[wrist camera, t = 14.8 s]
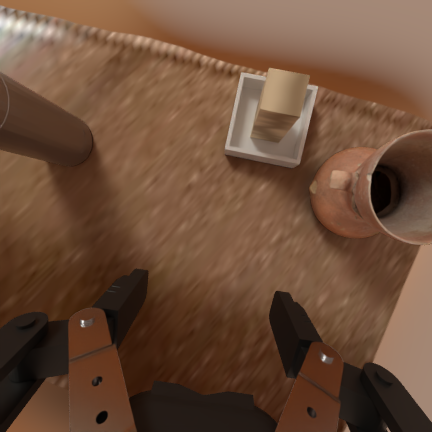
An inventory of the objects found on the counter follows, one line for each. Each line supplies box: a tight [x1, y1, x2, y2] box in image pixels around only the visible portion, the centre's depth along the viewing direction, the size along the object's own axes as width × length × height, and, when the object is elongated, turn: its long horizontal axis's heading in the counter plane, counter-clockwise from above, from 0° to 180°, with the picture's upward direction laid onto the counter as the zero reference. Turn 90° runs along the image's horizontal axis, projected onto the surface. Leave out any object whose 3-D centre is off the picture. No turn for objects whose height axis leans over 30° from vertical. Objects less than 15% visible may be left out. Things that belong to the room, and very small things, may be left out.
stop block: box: [250, 68, 310, 143], centre depth 29 cm, size 5×5×10 cm
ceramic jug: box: [309, 130, 432, 245], centre depth 28 cm, size 18×14×14 cm
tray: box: [225, 72, 318, 168], centre depth 33 cm, size 12×12×4 cm
